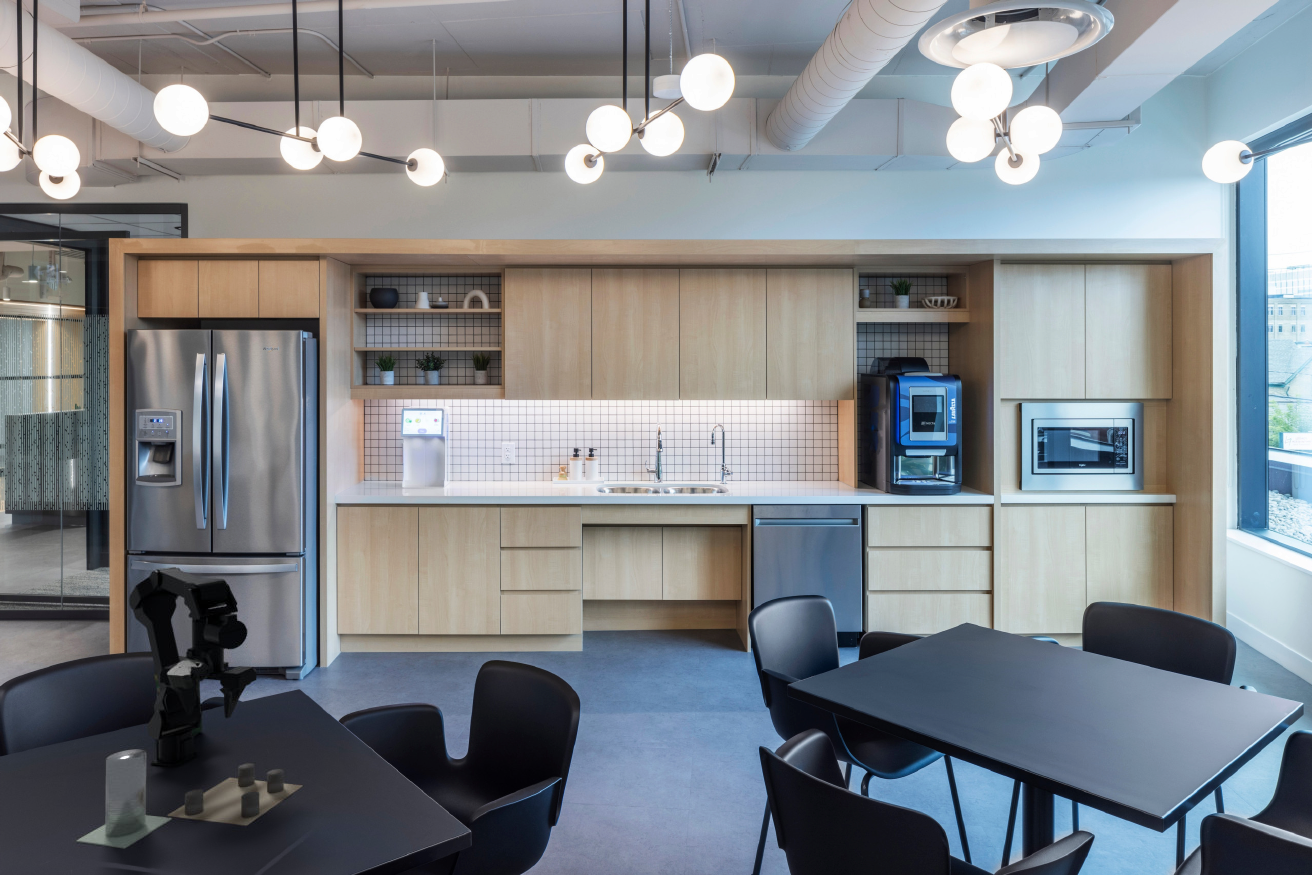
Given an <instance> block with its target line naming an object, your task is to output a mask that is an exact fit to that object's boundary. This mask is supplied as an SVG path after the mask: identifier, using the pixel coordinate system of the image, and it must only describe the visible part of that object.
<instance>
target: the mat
mask: <svg viewBox="0 0 1312 875" xmlns="http://www.w3.org/2000/svg"><path fill="white" fill-rule="evenodd" d="M255 766H256V765H255V763H250V762H249V763H244V764H241V765H239V766H238V767H237V778H236V777H228V778H227V779H225V780H223V781H221V782H219V783H218V784H217V785H215V786H213V787H211V788H210V789H209V790H207V791H205V792H204V790H203V789H192V790H190V791H187V792H186V793H185V794H184V805H182V806H180V807H179V808H176V809H175V810H174V811H172V812H171V813H168V814H167V815H166V816H167V817H171V818H172V817H173V818H182V819H189V820H198V821H205V822H206V821H207V822H215V823H222V824H231V825H238V826H248V825H250V824H251V823H253V822H254V821H255V820H257V819H258V818H259V817H261V816H262V815H264V814H265V813H267V812H269V811H270V810H271V809H272V808H274V807H275V806H277V805H278V804H280V803H281V802H282V801H284V800H285V799H286V798H288V797H290V796H291V795H293V793H296V792H297V791H299V790H300V789H301V788H302V787H303V785H300V784H291V783H285V780H284V779H285V777H284V776H285V771H284V769H282V768H281V769H280V768H279V769H278V768H276V769H272V770H269V771H268V772H267V773H266V781H265V780H263V781H262V780H256V771H255V770H256V769H255Z"/></svg>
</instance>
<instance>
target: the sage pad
mask: <svg viewBox="0 0 1312 875" xmlns="http://www.w3.org/2000/svg"><path fill="white" fill-rule="evenodd" d="M171 821H172V817H164V816H156V815H155V816H154V815H147V814H146V824H145V827H144V828H142V829H141V830H139V831H137V832H135V833H133V834H130V835H126V836H120V837H110V836H107V835H106V834H105V824H103V825H102V826H100V827H98V828H96V829H95V830H93V831H91V832H89V833H88V834H85V835H84V836H82V837H80V838H79V839H77V840H76V843H81V844H89V845H95V846H98V845H99V846H103V847H111V848H119V849H126V848H128V847H130V846H131V845H133V844H135V843H136V842H138V841H140V840H141V839H143V838H145V837H146V836H147V835H149V834H151V833H152V832H154V831H156V830H157V829H159V828H161V827H162V826H164V825H165V824H168V822H171Z"/></svg>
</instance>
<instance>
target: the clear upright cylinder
mask: <svg viewBox="0 0 1312 875" xmlns="http://www.w3.org/2000/svg"><path fill="white" fill-rule="evenodd" d="M146 801H147V751H146V750H144V749H137V748H136V749H128V750H122V751H118V752H115V753H112V754H110V755H109V756H107V758H106V759H105V809H104V810H105V815H104V816H105V819H104V820H105V821H104V822H105V823H104V825H105V834H106V835H107V836H110V837H120V836H126V835H130V834H133V833H135V832H137V831H139V830H141V829H142V828H144V827H145V824H146V815H147V814H146V813H147V811H146V810H147V808H146V806H147V805H146V804H147V802H146Z"/></svg>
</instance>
